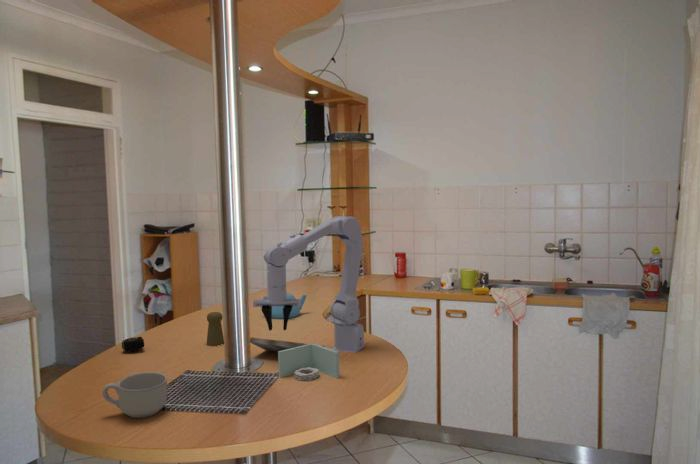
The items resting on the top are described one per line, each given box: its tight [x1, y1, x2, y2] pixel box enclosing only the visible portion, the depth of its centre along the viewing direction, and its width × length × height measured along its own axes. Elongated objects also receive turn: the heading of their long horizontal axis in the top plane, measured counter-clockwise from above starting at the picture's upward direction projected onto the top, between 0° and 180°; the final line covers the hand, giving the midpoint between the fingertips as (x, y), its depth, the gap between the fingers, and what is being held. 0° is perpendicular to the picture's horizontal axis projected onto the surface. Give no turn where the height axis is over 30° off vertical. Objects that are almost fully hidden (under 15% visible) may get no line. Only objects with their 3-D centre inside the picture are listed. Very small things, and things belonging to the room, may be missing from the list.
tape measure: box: [121, 336, 145, 353], centre depth 170 cm, size 7×7×4 cm
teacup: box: [102, 371, 168, 419], centre depth 120 cm, size 14×11×8 cm
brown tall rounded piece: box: [206, 311, 225, 347], centre depth 177 cm, size 6×6×11 cm
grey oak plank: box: [249, 337, 303, 353], centre depth 161 cm, size 18×10×2 cm, turn 66°
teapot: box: [260, 292, 308, 320], centre depth 220 cm, size 15×15×11 cm
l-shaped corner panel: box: [277, 342, 340, 382], centre depth 142 cm, size 12×12×8 cm
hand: (277, 329), depth 158 cm, fingers open, 4 cm apart
